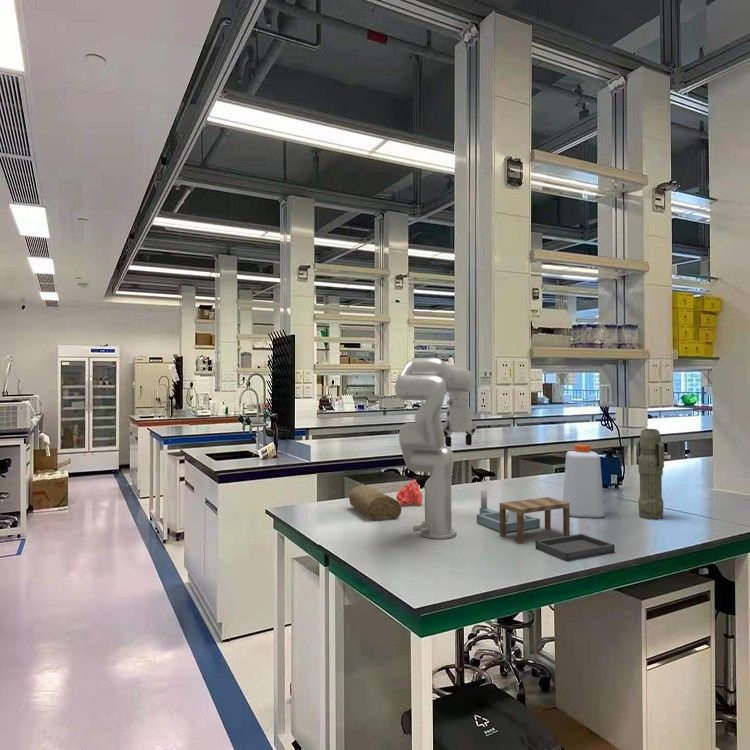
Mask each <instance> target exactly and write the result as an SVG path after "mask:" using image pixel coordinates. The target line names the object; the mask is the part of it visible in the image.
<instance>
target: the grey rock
mask: <svg viewBox="0 0 750 750" xmlns="http://www.w3.org/2000/svg"><path fill="white" fill-rule="evenodd" d="M524 514H525V513H524ZM524 514H523V521H524V520H526V517H525V515H524ZM506 522H517V513H515V512H512V511H509V510H506Z"/></svg>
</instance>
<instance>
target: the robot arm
mask: <svg viewBox="0 0 750 750" xmlns="http://www.w3.org/2000/svg"><path fill="white" fill-rule="evenodd" d="M407 361H408V362H406V363H405V365H404V366H403V368H402V369H401V371H400V373H399V375H398V377H397V378H396V381H395V385H394V391H395V394H396V396H397V397H398V399H400V400H403V401H424V403H423V404H422V405H421V406H420V407H419V409H417V412H416V413H415V415H414V420H415V422H406V423H404V424H403V425H402V426H401V427H400V429H399V432H398V434H399V435H398V440H399V441H398V442H399V446H400V449H401V453H402V456H403V460H404V462H405V465H406V468H407V469H408V470H409V471H411V472H419V473H421V472H422V473H430V474H431V475H430V476H429V478H428V479H427V480H426V481H425V484H424V521H421V524H420V525H419V524H418V525H413V526H412V531H413V532H420V535H421V536H422V537H425V538H427V539H432V540H433V539H434V540H447V539H451V538H454V537H456V536H457V532H456V530H455V529H453V527H452V525H453V524H452V517H453V516H452V475H453V468H454V460H455V456H454V452H453V450H452V449H451V447H452V437H451V435H452V434H453V433H465V445H466V446H472V439H473V436H474V434H475V432H476V430H477V427H478V424H476V423H475V422H473V421H472V412H471V408H470V406H468V403H469V402H468V399H469V398H468V393H470V392H472V391H473V390H475V387H476V378H475V375H474V373H473V372H472V371H470V370H469V369H466V368H462V367H457V366H455V365H454V366H453V365H449V364H448V363H446V362H445V361H444V360H442V359H440V358H437V357H415V358H411V359H409V360H407ZM446 393H448V400H446V404H447V405H448V407H447V409H446V415H445V422H444V423H442V420H441V418H442V417H441V412H442V410H443V409H442V408H443V405H444V403H445V402H444V401H445V397H446Z"/></svg>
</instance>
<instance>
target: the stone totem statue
mask: <svg viewBox="0 0 750 750" xmlns="http://www.w3.org/2000/svg"><path fill="white" fill-rule="evenodd" d="M636 451H637V452H636V453H637V464H638V474H639V497H638V513H639V514H638V517H639V516H640V517H639V518H641V517H642V518H641V519H644V518H647V519H646V520H650V519H656V520H655V521H659V520H658V519H661V520H663V519H664V516H663V514H664V500H663V496H662V495H663V491H662V490H663V488H662V485H663V484H662V483H663V482H662V477H663V475H664V467H665V445H664V443H663V442H662V437H661V434H660V430H659V429H656V428H644V429H642V430H641V432H640V436H639V440H638V442H637V450H636Z"/></svg>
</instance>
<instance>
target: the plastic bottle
mask: <svg viewBox="0 0 750 750" xmlns="http://www.w3.org/2000/svg"><path fill="white" fill-rule="evenodd" d="M564 464H565V465H564V477H563V478H564V479H563V481H564V483H563V496H562V501H564V502H567V503H569V506H570V517H572V518H585V519H587V518H588V519H590V518H591V519H600V518H603V517H604V516H605V504H604V491H603V489H604V488H603V479H602V467H601V466H602V465H601V456H600V454H598V453H597V452H595V451H591V445H589V444H575V445H574V450H568V451H567V452H566V454H565V463H564Z"/></svg>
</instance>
